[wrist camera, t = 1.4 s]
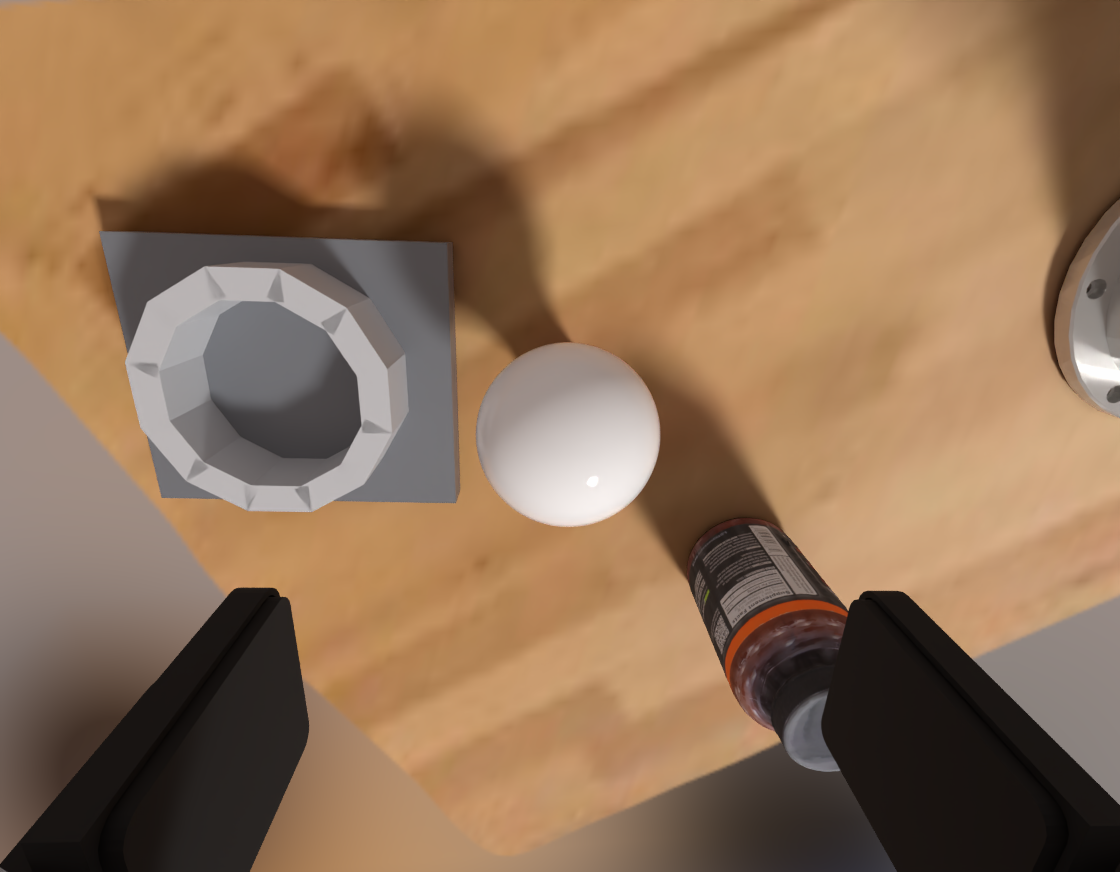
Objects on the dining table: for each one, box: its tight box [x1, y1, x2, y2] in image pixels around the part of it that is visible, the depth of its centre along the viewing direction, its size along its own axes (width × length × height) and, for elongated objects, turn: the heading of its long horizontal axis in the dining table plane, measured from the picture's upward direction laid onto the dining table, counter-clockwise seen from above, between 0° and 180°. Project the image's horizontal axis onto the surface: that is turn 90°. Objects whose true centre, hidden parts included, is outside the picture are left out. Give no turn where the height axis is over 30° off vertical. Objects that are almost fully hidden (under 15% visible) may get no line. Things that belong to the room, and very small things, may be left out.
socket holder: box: [99, 231, 460, 512], centre depth 24 cm, size 14×12×4 cm
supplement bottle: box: [687, 518, 849, 772], centre depth 26 cm, size 6×6×11 cm
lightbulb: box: [476, 342, 660, 527], centre depth 22 cm, size 6×6×11 cm
